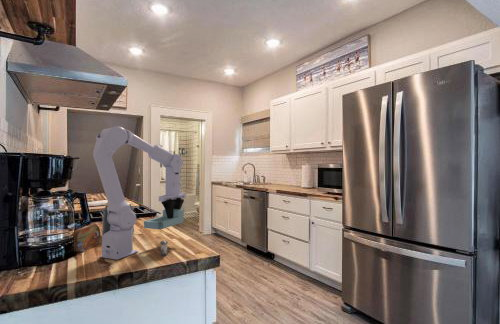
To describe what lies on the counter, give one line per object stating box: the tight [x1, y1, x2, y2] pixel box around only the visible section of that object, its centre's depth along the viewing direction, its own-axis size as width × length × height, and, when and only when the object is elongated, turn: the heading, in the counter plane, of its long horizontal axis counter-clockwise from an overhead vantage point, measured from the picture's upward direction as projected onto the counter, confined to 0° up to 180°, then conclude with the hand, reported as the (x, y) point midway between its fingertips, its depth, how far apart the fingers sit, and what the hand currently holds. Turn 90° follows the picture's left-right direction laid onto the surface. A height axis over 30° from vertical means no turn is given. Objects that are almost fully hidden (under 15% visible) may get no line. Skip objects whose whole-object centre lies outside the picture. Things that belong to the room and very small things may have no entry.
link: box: [143, 208, 185, 230], centre depth 111 cm, size 13×8×5 cm, turn 156°
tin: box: [71, 224, 101, 253], centre depth 107 cm, size 15×3×8 cm, turn 179°
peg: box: [159, 240, 169, 257], centre depth 99 cm, size 2×2×5 cm
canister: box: [101, 199, 135, 236], centre depth 128 cm, size 13×13×18 cm
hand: (172, 217), depth 116 cm, fingers closed on link, 3 cm apart
